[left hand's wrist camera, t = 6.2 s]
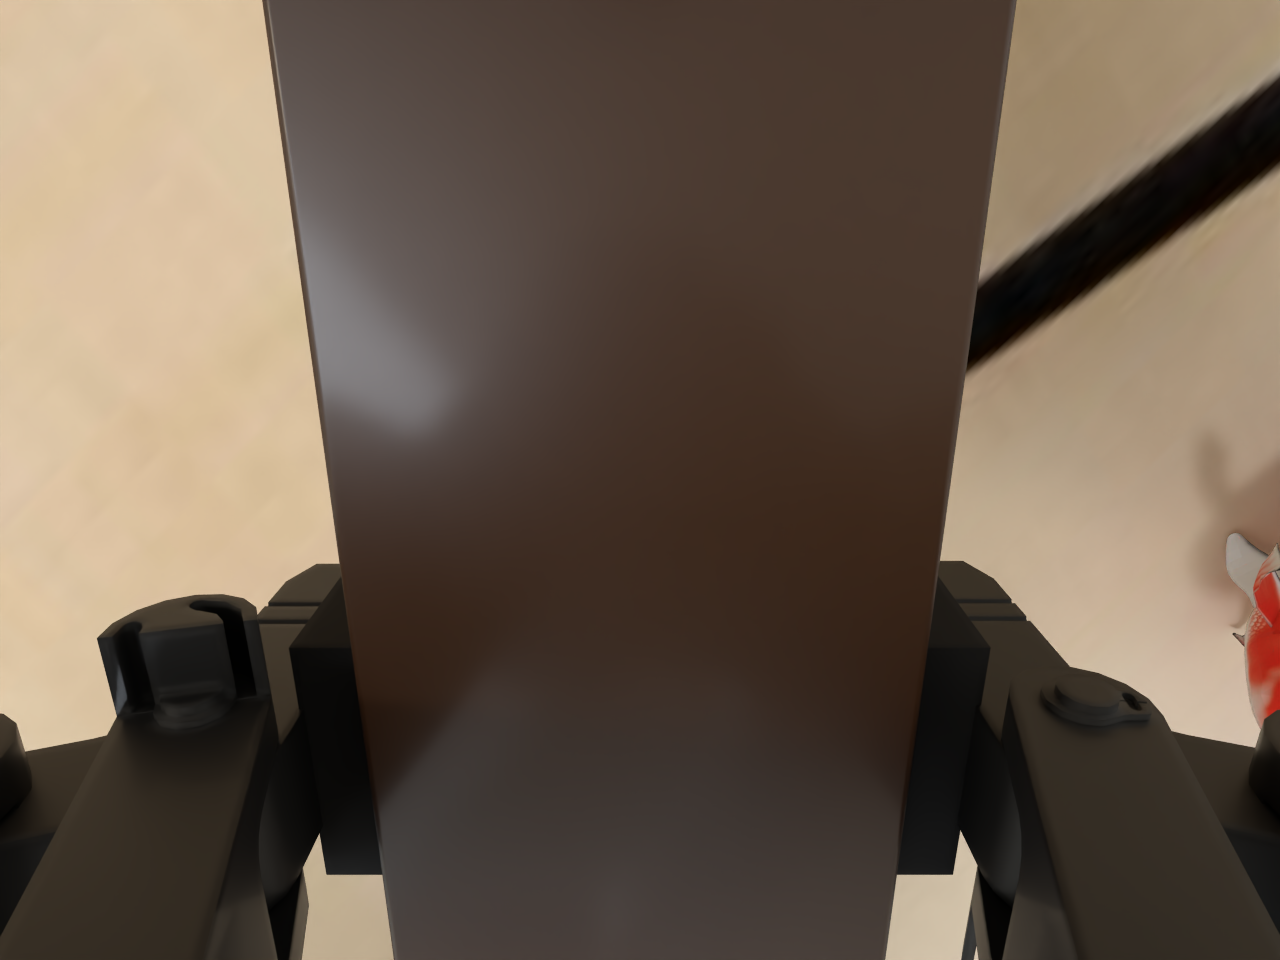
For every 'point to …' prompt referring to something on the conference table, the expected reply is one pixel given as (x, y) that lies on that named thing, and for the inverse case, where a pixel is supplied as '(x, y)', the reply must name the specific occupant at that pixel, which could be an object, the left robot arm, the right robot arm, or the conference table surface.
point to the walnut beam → (639, 446)
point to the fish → (1259, 621)
